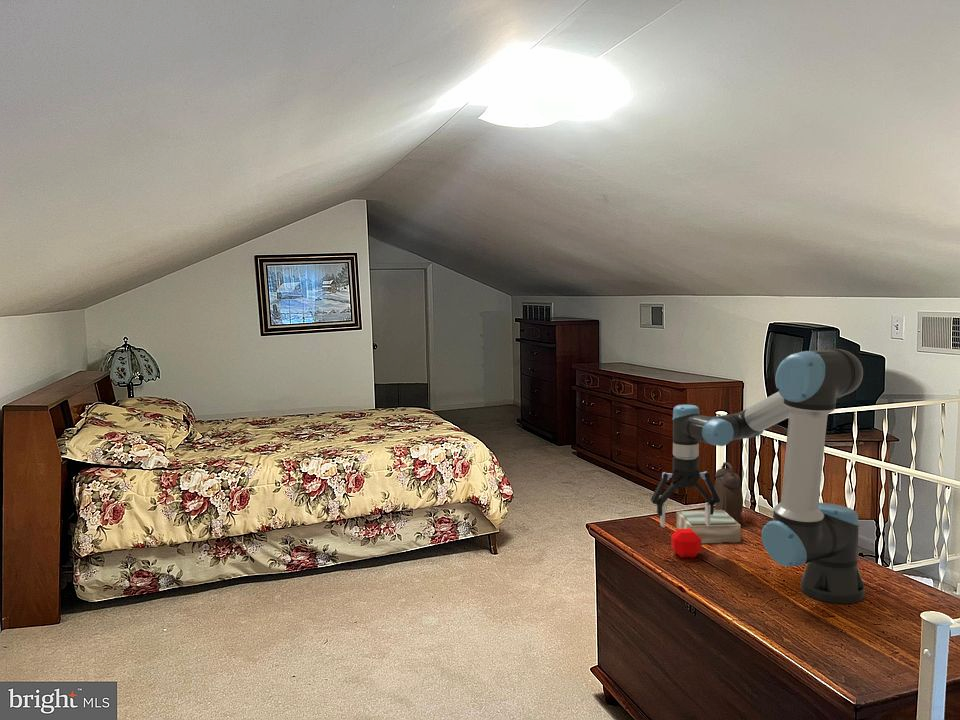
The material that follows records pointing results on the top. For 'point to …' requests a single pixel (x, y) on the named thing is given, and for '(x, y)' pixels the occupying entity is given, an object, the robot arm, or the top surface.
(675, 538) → the ball
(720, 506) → the brown backpack
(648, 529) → the top surface
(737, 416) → the robot arm
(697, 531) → the stand
